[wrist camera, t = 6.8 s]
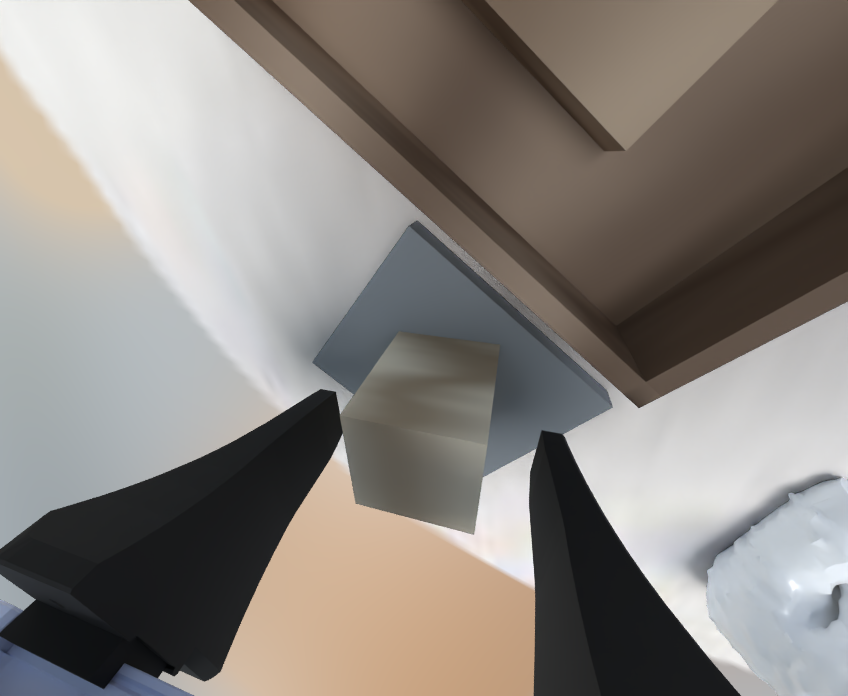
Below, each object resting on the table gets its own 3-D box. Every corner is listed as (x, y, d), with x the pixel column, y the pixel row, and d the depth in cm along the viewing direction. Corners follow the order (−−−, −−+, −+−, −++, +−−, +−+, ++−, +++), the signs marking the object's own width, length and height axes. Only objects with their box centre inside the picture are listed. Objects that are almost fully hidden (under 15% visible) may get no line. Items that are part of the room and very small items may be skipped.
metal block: (500, 344, 12) (487, 444, 8) (488, 422, 14) (474, 534, 10) (398, 331, 13) (339, 415, 9) (402, 406, 15) (355, 503, 11)
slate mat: (607, 391, 13) (612, 407, 12) (472, 468, 17) (470, 483, 16) (417, 220, 11) (408, 226, 11) (323, 351, 16) (312, 362, 15)
